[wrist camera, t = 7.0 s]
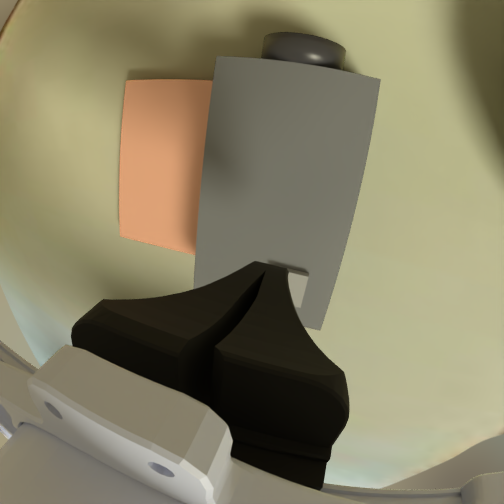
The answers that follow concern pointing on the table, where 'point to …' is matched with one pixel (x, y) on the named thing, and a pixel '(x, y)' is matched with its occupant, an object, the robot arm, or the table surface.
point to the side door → (162, 160)
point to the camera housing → (284, 165)
